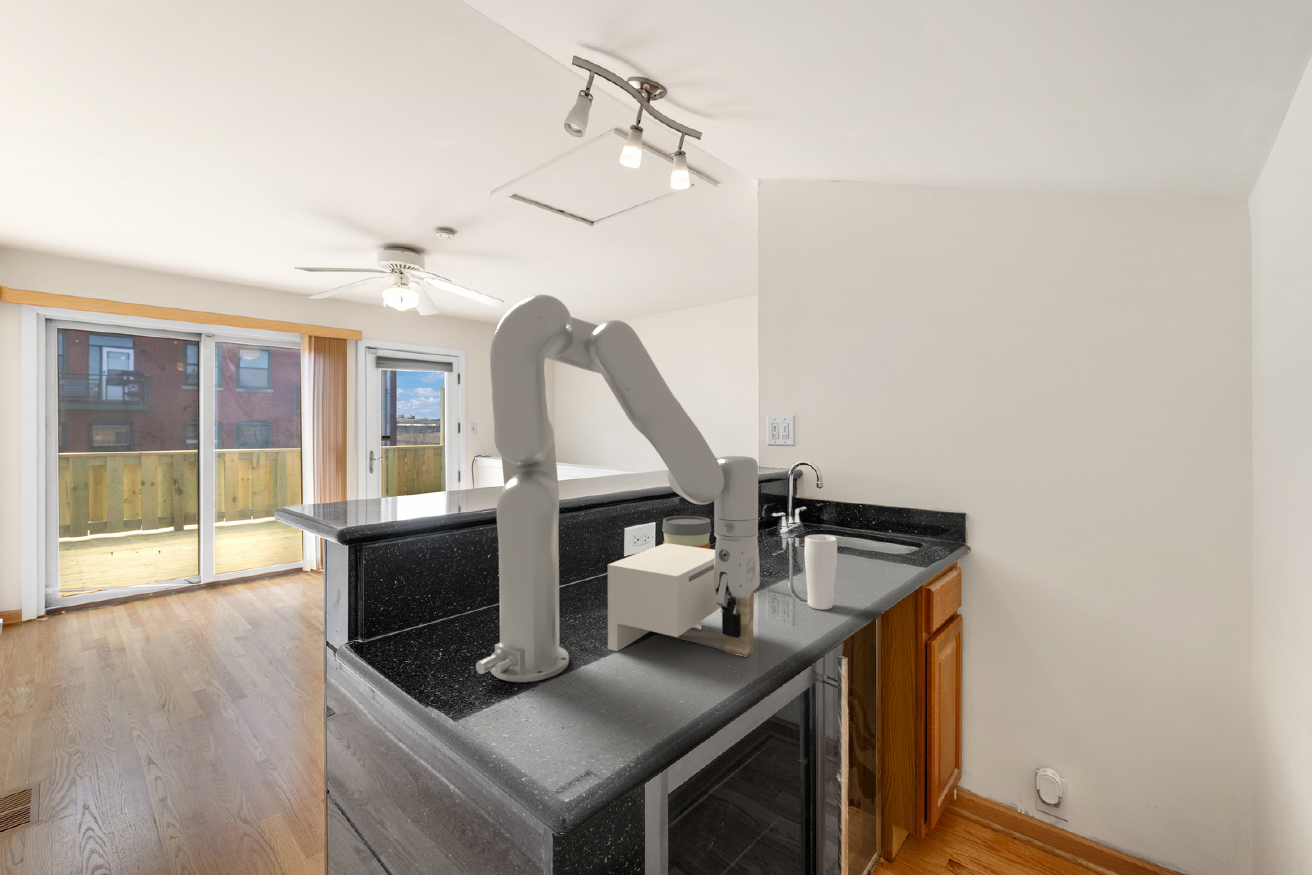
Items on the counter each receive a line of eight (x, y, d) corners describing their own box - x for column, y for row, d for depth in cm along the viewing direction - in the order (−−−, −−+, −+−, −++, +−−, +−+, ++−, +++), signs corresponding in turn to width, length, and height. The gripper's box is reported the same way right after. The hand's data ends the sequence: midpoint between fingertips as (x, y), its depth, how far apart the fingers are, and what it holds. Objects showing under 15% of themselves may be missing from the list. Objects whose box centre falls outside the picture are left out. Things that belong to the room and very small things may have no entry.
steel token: (693, 640, 101) (693, 632, 101) (670, 634, 104) (670, 626, 104) (705, 631, 106) (705, 623, 106) (683, 626, 108) (683, 618, 108)
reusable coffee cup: (697, 588, 132) (697, 526, 132) (652, 580, 139) (652, 521, 139) (719, 575, 143) (719, 518, 143) (677, 569, 150) (677, 514, 149)
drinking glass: (808, 599, 124) (809, 533, 124) (839, 604, 121) (840, 536, 120) (800, 608, 118) (800, 538, 118) (832, 614, 115) (833, 542, 114)
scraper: (746, 657, 94) (747, 593, 93) (656, 634, 103) (656, 576, 103) (753, 651, 96) (754, 589, 96) (664, 629, 106) (665, 572, 105)
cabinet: (678, 667, 90) (678, 576, 89) (607, 648, 97) (607, 564, 97) (728, 628, 107) (728, 551, 106) (665, 614, 114) (665, 543, 114)
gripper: (736, 538, 87) (736, 653, 87) (773, 522, 101) (772, 621, 101) (694, 533, 91) (694, 643, 91) (735, 518, 104) (734, 614, 105)
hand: (735, 631), depth 96 cm, fingers closed on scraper, 3 cm apart
